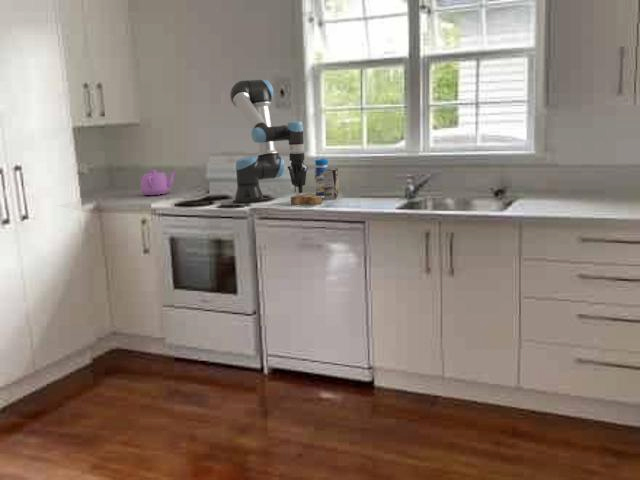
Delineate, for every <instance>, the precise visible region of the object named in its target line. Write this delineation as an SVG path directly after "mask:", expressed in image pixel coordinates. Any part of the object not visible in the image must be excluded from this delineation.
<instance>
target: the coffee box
mask: <svg viewBox="0 0 640 480" xmlns="http://www.w3.org/2000/svg"><path fill="white" fill-rule="evenodd" d="M323 174H324V196H323V197H324V201H331V200H333V201H335V200H338V199H340V192H339V191H340V189H339V168H338V167H337V168H328V169H325V170H324V171H323Z"/></svg>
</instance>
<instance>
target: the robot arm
mask: <svg viewBox="0 0 640 480" xmlns="http://www.w3.org/2000/svg"><path fill="white" fill-rule="evenodd" d="M230 89H231V90H230V93H229V94H230V95H229V97H230V101H231V102H232V105H233V106H234V107H236V108H237V109H238V110H239V112H240V113H241V115H242V117H243V118H244V120H245V121H246V123H247V124H248V126H249V127H250V128H251V133H250V134H251V138H252V141H253V142H254V143H257V144H258V148H259V153H257V156H255V155H251V156H250V155H249V156H245V157H241V158H238V159H237V160H236V161H235V173H236V174H235V175H236V184H237V188H236V193H235V196H234V199H235V202H236V203H252V202H253V203H254V202H260V201H263V200H264V195H263V192H262V190H261V187H260V182H259V181H262V180H268V179H269V180H270V179H277V178H281V177H282V176H283V174H284V172H285V160H284V158H283V156H282V155H280V154H279V152H278V151H277V150H276V148H275V147H276V145H275V142H283V141H288V150H289V151H288V152H289V156H288V157H289V161H290V165H289V166H287V169H288V171H289V176H290V182H291V186H294V188H295V189H294V190H295V196H299V195H303V186H305V185H306V180H307V172H308V169H309V168H308V166H306V165H305V163H304V161H305V145H304V142H305V140H304V127H303V122H302V121H289V122H287V124H282V125H273V126H272V119H271V115H270V114H271V113H270V105H271V104H272V103H271V101H273V99H274V93H275V92H274V88H273V86H272V83H270V82H269V80H267V79H249V80H247V79H246V80H244V79H243V80H239V81H238V82H236V83H235V84H233V86H232V87H231V88H230Z"/></svg>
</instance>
